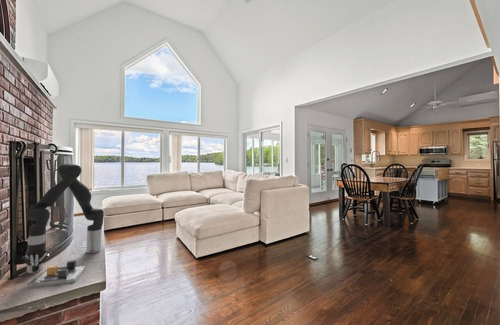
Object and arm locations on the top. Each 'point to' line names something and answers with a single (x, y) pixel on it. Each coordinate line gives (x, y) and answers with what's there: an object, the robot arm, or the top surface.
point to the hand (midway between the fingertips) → (35, 271)
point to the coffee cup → (29, 267)
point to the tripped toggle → (52, 270)
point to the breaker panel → (58, 275)
